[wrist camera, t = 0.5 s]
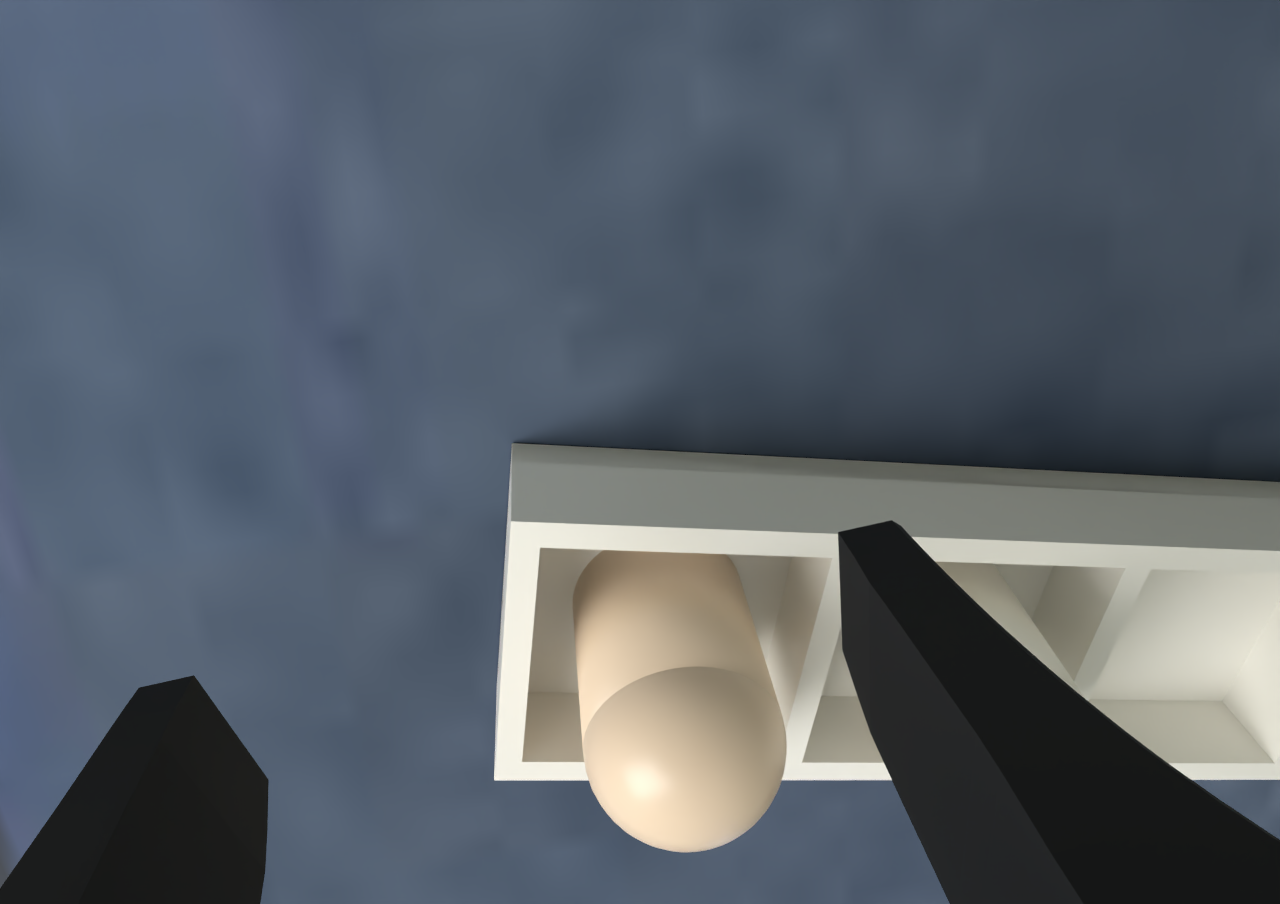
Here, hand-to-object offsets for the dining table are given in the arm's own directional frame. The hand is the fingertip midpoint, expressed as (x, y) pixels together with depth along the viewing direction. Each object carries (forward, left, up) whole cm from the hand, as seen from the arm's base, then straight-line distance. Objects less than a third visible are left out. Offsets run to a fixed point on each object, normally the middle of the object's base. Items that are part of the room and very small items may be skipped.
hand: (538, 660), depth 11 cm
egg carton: (-7, -10, -10) cm, 16 cm away
